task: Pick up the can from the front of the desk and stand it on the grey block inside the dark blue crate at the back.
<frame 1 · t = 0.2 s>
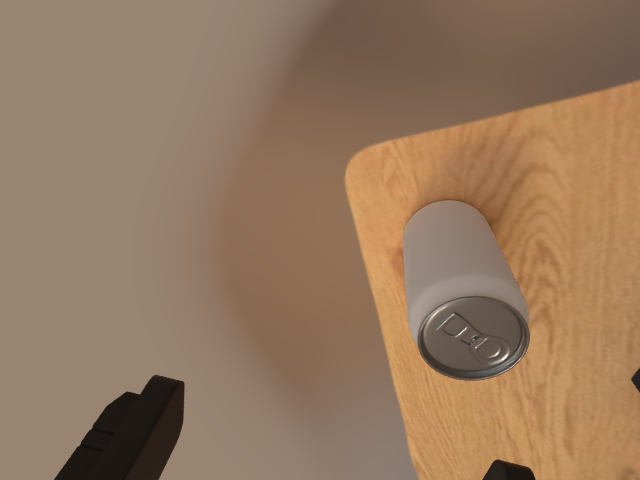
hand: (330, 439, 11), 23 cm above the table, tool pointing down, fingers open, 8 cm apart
can: (444, 235, 33), on the table
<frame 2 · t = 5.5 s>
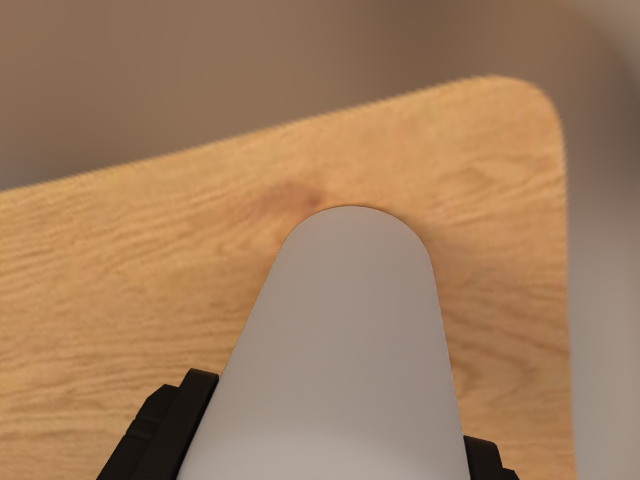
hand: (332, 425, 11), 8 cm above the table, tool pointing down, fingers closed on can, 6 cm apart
can: (354, 269, 18), on the table, touching gripper
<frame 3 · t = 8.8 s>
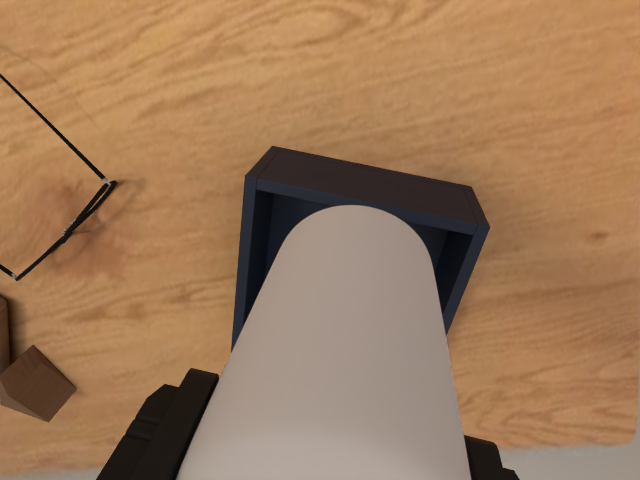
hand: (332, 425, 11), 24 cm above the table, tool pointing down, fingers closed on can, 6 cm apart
can: (354, 268, 18), point 16 cm above the table, touching gripper
eyeglasses: (19, 158, 37), on the table
wooden block set: (8, 314, 47), on the table
crate: (350, 251, 36), on the table
when the fingers open (14 cm above the table, at t = 12.3 s): can stays where it is, resting on grey block.
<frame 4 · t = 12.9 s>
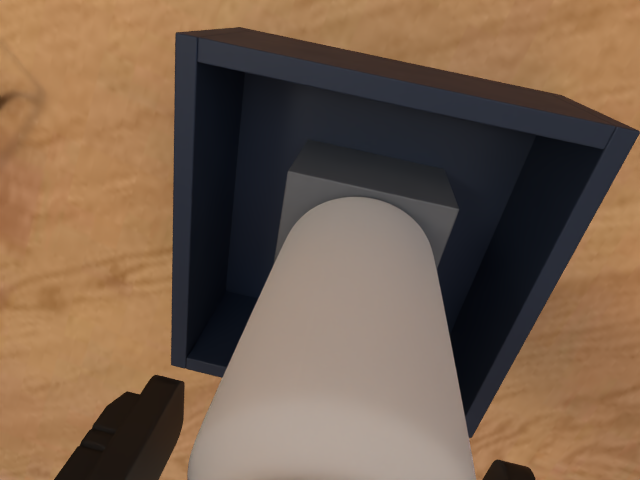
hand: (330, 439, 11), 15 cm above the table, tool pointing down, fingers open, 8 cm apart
can: (357, 259, 19), point 6 cm above the table, touching grey block
grey block: (360, 215, 23), resting on crate
crate: (361, 208, 24), on the table
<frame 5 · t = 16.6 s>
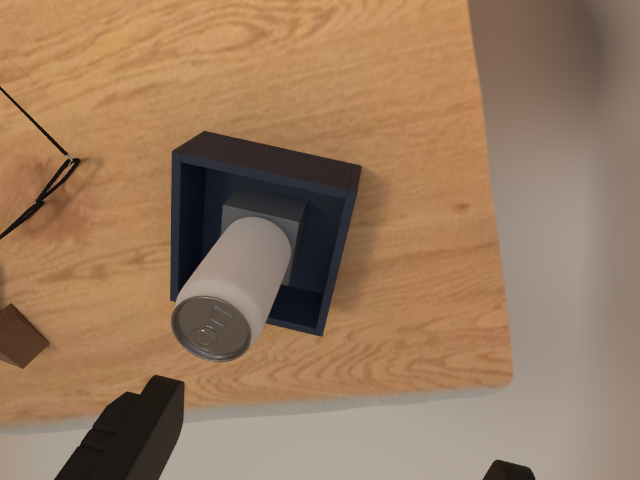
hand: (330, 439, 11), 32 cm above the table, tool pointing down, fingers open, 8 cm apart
can: (258, 245, 39), point 6 cm above the table, touching grey block
grey block: (269, 223, 44), resting on crate
crate: (272, 219, 45), on the table
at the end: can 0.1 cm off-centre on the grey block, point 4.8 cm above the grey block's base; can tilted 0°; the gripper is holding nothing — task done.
